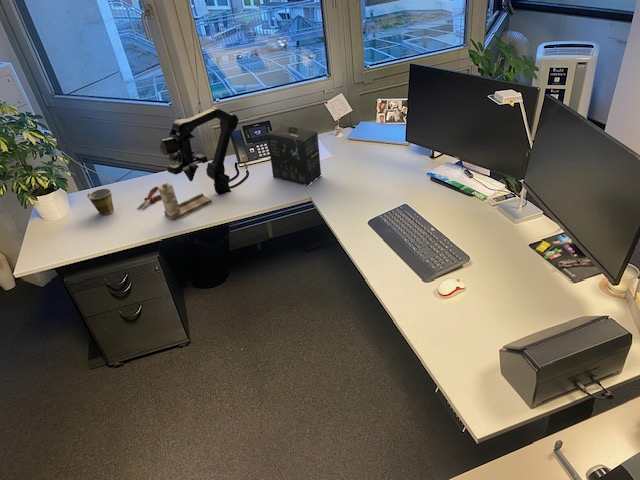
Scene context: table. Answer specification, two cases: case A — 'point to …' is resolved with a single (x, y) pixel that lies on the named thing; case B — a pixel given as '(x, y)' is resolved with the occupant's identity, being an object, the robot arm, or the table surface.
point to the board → (190, 206)
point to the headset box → (294, 154)
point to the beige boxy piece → (169, 199)
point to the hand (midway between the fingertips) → (191, 181)
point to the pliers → (150, 198)
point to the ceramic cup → (102, 201)
